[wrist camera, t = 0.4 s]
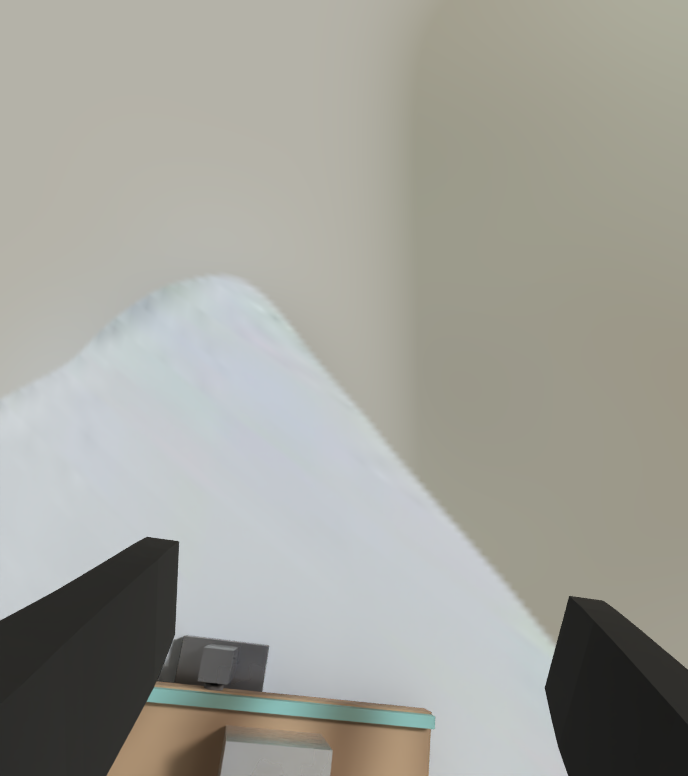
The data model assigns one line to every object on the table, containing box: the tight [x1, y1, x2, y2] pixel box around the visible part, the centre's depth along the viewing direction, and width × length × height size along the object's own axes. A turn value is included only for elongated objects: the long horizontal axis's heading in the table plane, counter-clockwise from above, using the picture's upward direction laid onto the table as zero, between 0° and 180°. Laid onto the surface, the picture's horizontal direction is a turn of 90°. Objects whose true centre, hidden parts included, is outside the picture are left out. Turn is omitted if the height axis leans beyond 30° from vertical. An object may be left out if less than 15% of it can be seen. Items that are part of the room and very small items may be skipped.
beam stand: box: [174, 635, 269, 692], centre depth 29 cm, size 5×12×4 cm, turn 173°
